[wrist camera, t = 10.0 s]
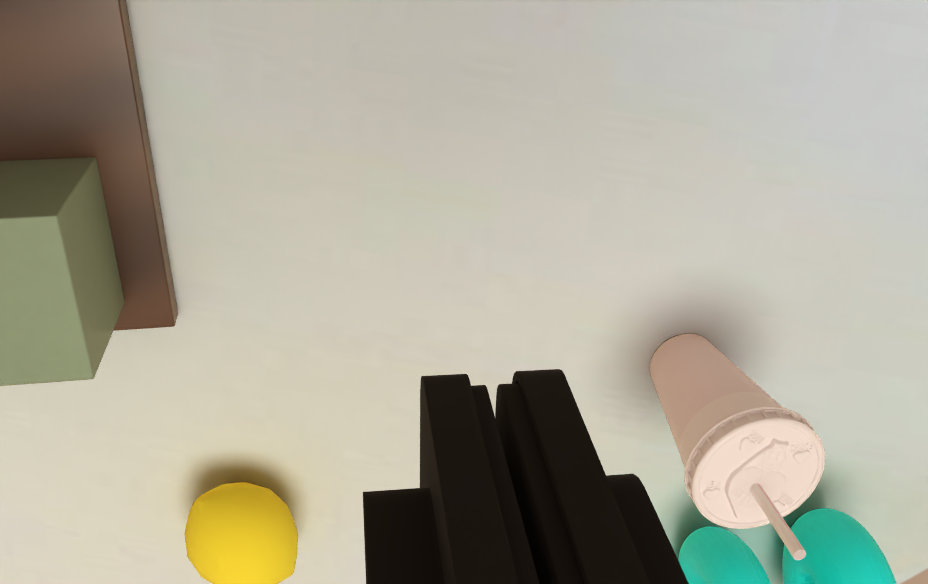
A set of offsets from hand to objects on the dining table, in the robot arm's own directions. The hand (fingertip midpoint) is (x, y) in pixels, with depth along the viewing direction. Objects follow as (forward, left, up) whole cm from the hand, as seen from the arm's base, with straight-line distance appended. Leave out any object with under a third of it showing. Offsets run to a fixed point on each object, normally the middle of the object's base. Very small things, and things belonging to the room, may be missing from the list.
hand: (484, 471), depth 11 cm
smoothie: (+19, +16, -31) cm, 40 cm away
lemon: (+26, -8, -31) cm, 41 cm away
